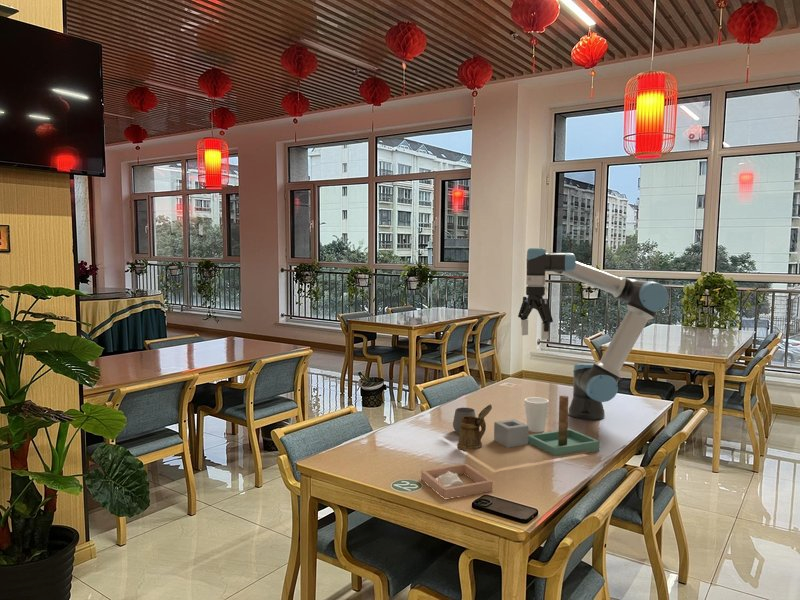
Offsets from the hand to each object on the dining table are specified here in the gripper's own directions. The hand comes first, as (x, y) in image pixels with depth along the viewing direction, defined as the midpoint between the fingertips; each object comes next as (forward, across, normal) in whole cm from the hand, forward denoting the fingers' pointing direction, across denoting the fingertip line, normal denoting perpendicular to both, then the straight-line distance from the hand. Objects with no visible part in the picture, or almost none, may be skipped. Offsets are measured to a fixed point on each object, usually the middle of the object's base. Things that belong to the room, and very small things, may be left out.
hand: (534, 337), depth 239 cm
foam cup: (+37, +9, -5) cm, 38 cm away
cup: (+37, +1, -33) cm, 50 cm away
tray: (+37, +28, -7) cm, 47 cm away
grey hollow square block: (+37, +18, -23) cm, 47 cm away
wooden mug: (+37, +17, -38) cm, 56 cm away
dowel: (+36, +28, -7) cm, 46 cm away
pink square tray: (+37, +43, -60) cm, 82 cm away
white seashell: (+37, +42, -62) cm, 84 cm away
